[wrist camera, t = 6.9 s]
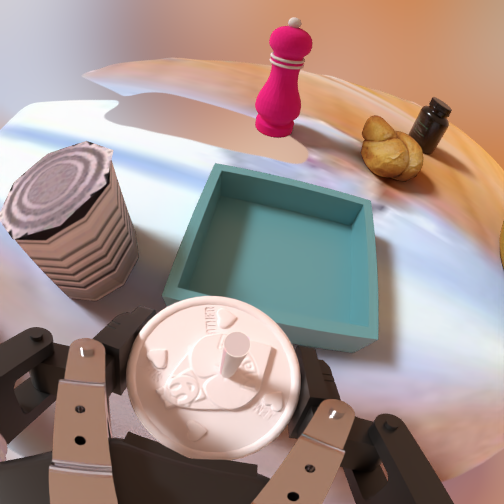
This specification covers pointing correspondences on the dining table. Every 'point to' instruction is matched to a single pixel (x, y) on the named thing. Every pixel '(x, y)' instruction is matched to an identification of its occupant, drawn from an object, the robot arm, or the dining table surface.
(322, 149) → the dining table surface
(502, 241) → the planter bowl
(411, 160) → the bread roll
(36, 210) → the can
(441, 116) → the supplement bottle
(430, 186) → the dining table surface
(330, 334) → the tote
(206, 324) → the smoothie
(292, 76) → the pepper mill
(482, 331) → the dining table surface
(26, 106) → the dining table surface
